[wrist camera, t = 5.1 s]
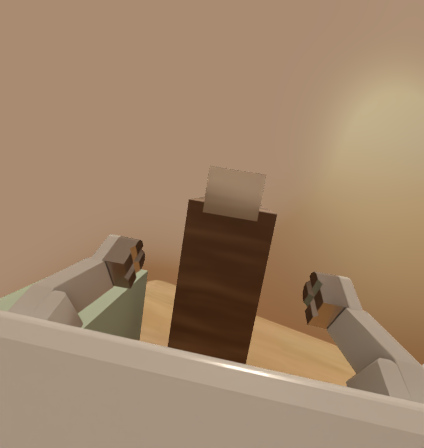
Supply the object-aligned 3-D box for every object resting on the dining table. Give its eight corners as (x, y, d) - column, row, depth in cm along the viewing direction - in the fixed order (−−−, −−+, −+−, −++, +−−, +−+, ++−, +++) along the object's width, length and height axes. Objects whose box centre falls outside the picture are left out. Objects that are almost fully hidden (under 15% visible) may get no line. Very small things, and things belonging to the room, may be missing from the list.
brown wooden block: (226, 452, 24) (277, 214, 20) (155, 433, 24) (188, 199, 20) (230, 356, 38) (260, 204, 33) (184, 346, 38) (208, 196, 34)
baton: (262, 222, 12) (274, 165, 11) (197, 211, 12) (205, 155, 12) (245, 202, 34) (249, 182, 33) (222, 198, 34) (225, 178, 33)
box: (8, 615, 14) (13, 391, 11) (-105, 575, 14) (-126, 355, 12) (134, 381, 30) (147, 270, 28) (79, 367, 31) (87, 258, 28)
